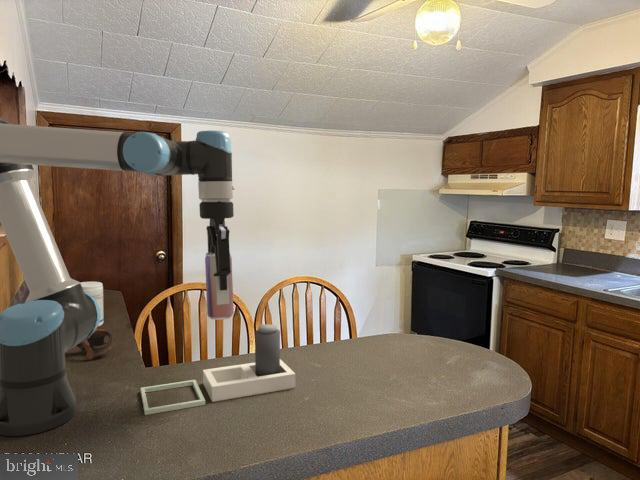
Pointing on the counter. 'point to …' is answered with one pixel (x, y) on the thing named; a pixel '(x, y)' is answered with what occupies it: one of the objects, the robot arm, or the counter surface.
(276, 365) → the single round plug
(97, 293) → the supplement tub
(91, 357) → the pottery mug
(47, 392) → the robot arm
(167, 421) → the counter surface
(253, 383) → the white divided tray
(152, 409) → the rectangular frame
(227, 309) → the beverage can
